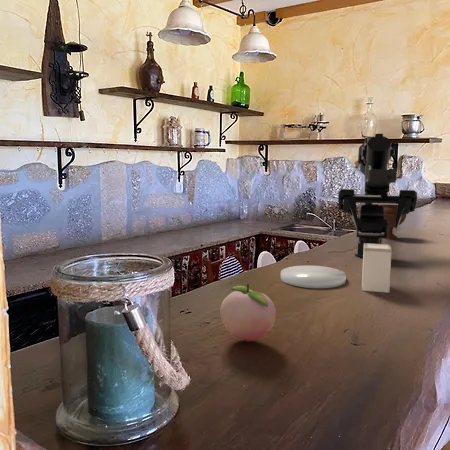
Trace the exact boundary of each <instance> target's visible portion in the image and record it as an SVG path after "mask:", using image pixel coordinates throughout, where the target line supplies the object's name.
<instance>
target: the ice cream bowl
mask: <svg viewBox="0 0 450 450" xmlns="http://www.w3.org/2000/svg"><path fill="white" fill-rule="evenodd" d="M379 205H382V206H383V208H384V218H386V219H387V222H388V223H389V226H388V235H387V238H385V240H398V236H397V235H395V234H394V233H393V230H394V229H395V221H396V214H397V208H398V205H386V204H379ZM407 215H408V214H404V216H403V217H402V219H401V220H400V223H399V225H398V226H400V225H401V224H403V223H404V222H405V220H406V218H407Z"/></svg>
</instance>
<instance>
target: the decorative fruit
mask: <svg viewBox="0 0 450 450" xmlns="http://www.w3.org/2000/svg"><path fill="white" fill-rule="evenodd" d="M219 313H220V318H221V319H220V320H221V322H222V324H223V326H224V328H225V330H227V331H228V332H229V333H230V334H232V335H234V336H235V337H237V338H239V339H243V340H245V341H246V343H249V342H254V341H257V340H258V339H261V338H262V337H264V336H265V335H267V334H268V333H269V332H270V330H271V329H272V327H273V326H274V324H275V322H276V317H277V309H276V307H275V304H274V302H273V300H272V299H271V298H270V297H269V296H268V295H266V294H265V293H262V292H260V291H255V290H252V289H250V284H249V283H247V284H246V286H245V285H235V286H233V287H232V288H231V292H230V293H229V294H228V295H227V296H226V297H225V298H224V299H223V301H222V302H221V305H220V309H219Z"/></svg>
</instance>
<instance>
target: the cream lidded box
mask: <svg viewBox="0 0 450 450" xmlns="http://www.w3.org/2000/svg"><path fill="white" fill-rule="evenodd" d="M391 263H392V247H391V245H390V244H389V243H381V244H373V243H364V249H363V258H362V271H361V272H362V273H361V274H362V275H361V276H362V278H361V289H362V292H374V293H375V292H378V293H390V288H391V287H390V283H391V282H390V281H391V265H392V264H391Z"/></svg>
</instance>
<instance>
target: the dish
mask: <svg viewBox="0 0 450 450" xmlns="http://www.w3.org/2000/svg"><path fill="white" fill-rule="evenodd" d="M346 279H347V274H346V272H344V271H342V270H341V269H336V268H334V267H328V266H323V265H293V266H289V267H284V268H283V269H282V270H281V271H280V280H281V281H282V282H283V283H285V284H287V285H290V286H293V287H294V286H295V287H299V288H307V289H329V288H331V289H332V288H337V287H340V286H343V285H345V283H346V282H347V281H346Z"/></svg>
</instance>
